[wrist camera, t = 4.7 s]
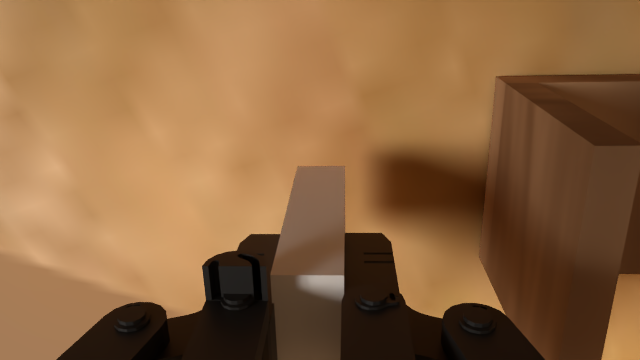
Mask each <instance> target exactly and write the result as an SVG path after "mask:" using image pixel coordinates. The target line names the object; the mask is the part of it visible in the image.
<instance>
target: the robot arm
mask: <svg viewBox="0 0 640 360" xmlns="http://www.w3.org/2000/svg"><path fill="white" fill-rule="evenodd" d="M202 269H203V278H204V286H205V295H206V302H205V304H204V306H203V309H202V310H201V311H199V312H196V313H193V314H189V315H185V316H180V317H175V318H170V319H167V315H166V311H165V310H164V309H163V308H162V307H161V306H160V305H157V304H154V303H151V302H136V303H130V304H126V305H124V306H121V307H119V308H116V309H114V310H113V311H111V312H110V313H109V314H107V315H105V316H104V317H103V318H102V319H101V320H100V321H98V322H97V323H96V324H95V325H94V326H93V327H92V328H91V329H90V330H89V331H87V332H86V333H85V334H84V335H83V336H82V337H81V338H80V339H79V340H78V341H76V342H75V343H74V344H73V345H72V346H71V347H70V348H69V349H68V350H66V351H65V352H64V353H63V354H62V355H61V356H60V357H59V358H58V359H57V360H545V359H544V358H543V356H542V355H541V354H540V353H539V352H538V351H537V350H536V348H535V347H534V346H533V345H532V344H531V343H530V342H529V340H528V339H527V338H526V337H525V336H524V335H523V334H522V332H521V331H520V330H519V329H518V328H517V327H516V326H515V324H514V323H513V322H512V321H511V320H510V319H509V318H508V317H507V316H506V315H505V314H503V313H502V312H501V311H499V310H497V309H495V308H492V307H490V306H487V305H483V304H477V303H462V304H458V305H455V306H452V307H450V308H449V309H448V310H446V311H445V313H444V316H443V319H442V318H437V317H432V316H428V315H425V314H421V313H419V312H417V311H415V310H413V309H411V308H410V307H408V306H407V305H406V302H405V300H404V298H403V296H402V294H400V293H399V287H398V281H397V275H396V269H395V263H394V257H393V251H392V245H391V242H390V241H389V240H388V239H387V238H386V237H385V236H384V235H383V234H382V233H345V166H298V167H297V171H296V175H295V179H294V183H293V187H292V191H291V195H290V199H289V203H288V206H287V210H286V214H285V218H284V222H283V226H282V230H281V234H251V235H249V236H248V237H247V238H246V239H245V240H243V241H242V242H241V243H240V244H239V247H238V249H237V251H230V252H225V253H222V254H218V255H216V256H214V257H212V258H210V259H208V260H207V261H206V262H205V263H204V265H203V266H202Z"/></svg>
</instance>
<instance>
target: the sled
mask: <svg viewBox="0 0 640 360" xmlns="http://www.w3.org/2000/svg"><path fill="white" fill-rule="evenodd" d="M479 258H480V260H481V262H482V264H483V267H484V269H485V271H486V273H487V275H488V277H489V280H490V282H491V284H492V286H493V288H494V290H495V292H496V295H497V297H498V299H499V301H500V303H501V305H502V308H503V310H504V312H505V314H506V316H507V317H508V318H509V319H510V320H511V321H512V322H513V323H514V324H515V326H516V327H517V328H518V329H519V330H520V331H521V332H522V334H523V335H524V336H525V337H526V338H527V339H528V340H529V342H530V343H531V344H532V345H533V346H534V347H535V348H536V350H537V351H538V352H539V353H540V354H541V355H542V356H543V358H544V359H545V360H601V358H602V353H603V348H604V343H605V338H606V334H607V329H608V324H609V319H610V314H611V309H612V304H613V299H614V294H615V289H616V284H617V280H618V275H619V274H640V74H625V75H562V76H498V77H496V84H495V94H494V105H493V115H492V126H491V137H490V147H489V158H488V169H487V179H486V190H485V200H484V211H483V222H482V232H481V243H480V253H479Z"/></svg>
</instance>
